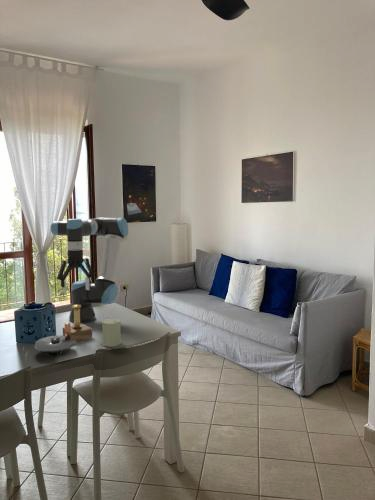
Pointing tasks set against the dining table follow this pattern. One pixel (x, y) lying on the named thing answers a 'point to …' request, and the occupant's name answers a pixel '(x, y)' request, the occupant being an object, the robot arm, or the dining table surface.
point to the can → (111, 332)
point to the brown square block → (80, 332)
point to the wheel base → (55, 352)
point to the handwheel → (56, 341)
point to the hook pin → (76, 316)
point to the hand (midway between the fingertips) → (76, 291)
